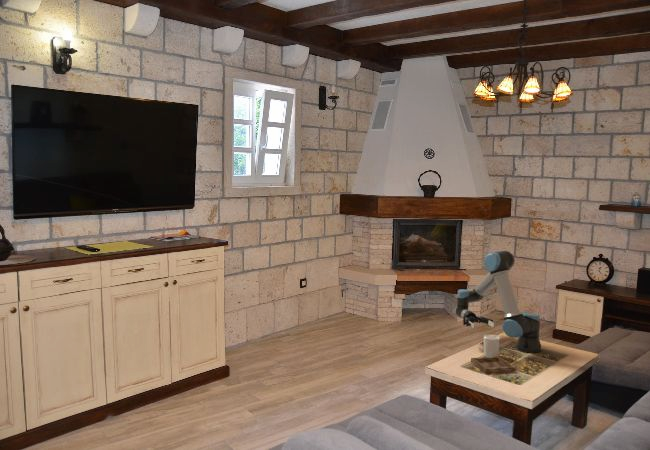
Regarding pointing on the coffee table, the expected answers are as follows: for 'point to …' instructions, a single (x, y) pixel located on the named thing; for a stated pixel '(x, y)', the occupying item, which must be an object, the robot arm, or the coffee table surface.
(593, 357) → the coffee table surface
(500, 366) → the walnut tray
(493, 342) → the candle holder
